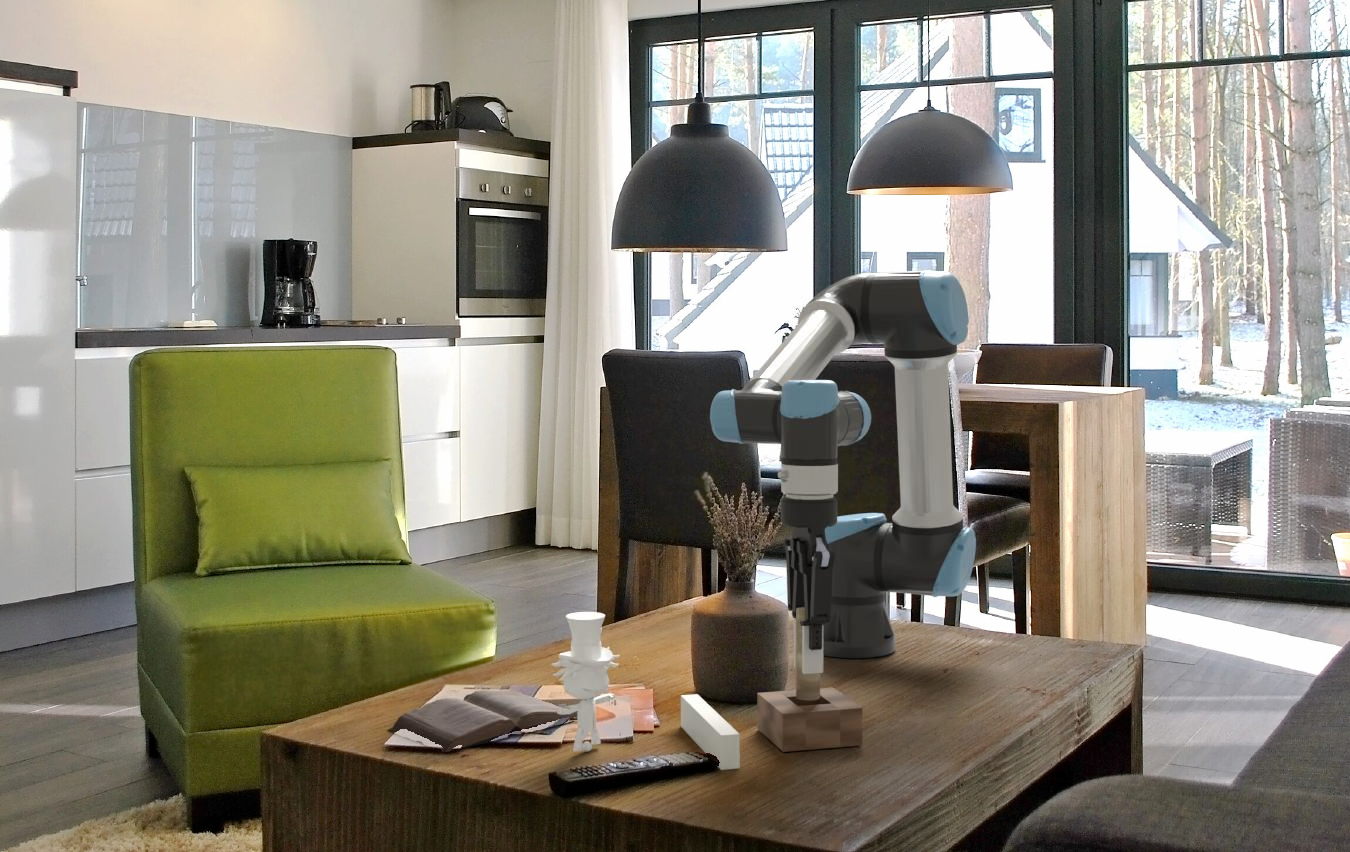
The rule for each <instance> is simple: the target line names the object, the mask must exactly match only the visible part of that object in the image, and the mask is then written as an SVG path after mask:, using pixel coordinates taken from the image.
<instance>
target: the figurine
mask: <svg viewBox="0 0 1350 852" xmlns="http://www.w3.org/2000/svg"><path fill="white" fill-rule="evenodd" d="M565 618H566V621H567V622H568V625H569V628H570V629H569V630H570V633H571V642H570V650H568V651H565V652H562V653H559V654H558V658H559V659H558V661H557V662H553V663H550V664H551V666H553V667H555V668H557V667H563V668H560V669H559V670H557V672H556V673H553V674H552V676H553V677H558V676H561V675H562V676H561V677H560V678H559V679H558V681H559V682H563V685H562V686H563V690H564V691H565V693H566V694H567V695H569V696H571V697H573V698H574V699H578V700H580V702H579V703H577V704H576V703H575V704H571V705H569V706H564V707H563V708H561V709H558V710H557V711H556V712H557V713H558V714H560V715H565V714H571V713H573V712H576V711H578V712H577V720H578V721H577V727H578V728H577V731H576V734H575V739H574V743H573V748H572V751H573V752H580V751H584V752H586V753H588V752H590V751H591V750H592V748H593V746H596V745H600V744H601V743H602V741H601V738H600V735H599V731H598V728H597V715H596V713H597V710H596V709H597V708H596V705H598V704H604V703H606V702H607V703H608V702H611V701H613V700H614V699H615V698H616V694H614V693H606V692H608V690H609V685H610V678H609V675H608V669H609V668H617V667H618V666H619V665H620V663H614V662H613V660H617V659H618V658H620V656H621V655H620V654H617V655H615V654H613V652H612V651H611V650H610V646H607V648H606V647H604V646H602V641H601V636H602V633H603V632H602V631H603V629H604V628H603V627H602V625H603V624H604V623H603V622H604V621H605V618H606V614H604V613H602V612H595V611H580V612H579V611H577V612H572V613H571V612H570V613H568V614H566V615H565ZM590 732H591V733H590ZM589 733H590V740H591V741H585V740H586V738H587V737H588V735H589Z"/></svg>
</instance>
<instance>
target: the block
mask: <svg viewBox="0 0 1350 852" xmlns="http://www.w3.org/2000/svg"><path fill="white" fill-rule="evenodd" d="M756 696H757V697H756V698H757V700H756V702H757V704H756V707H757V708H756V710H757V712H756V714H757V715H756V716H757V717H756V719H757V720H756V723H757V724H756V725H757V730H758V731H759V732H761V734H762V735H764V736H765V737H766V738H767V739H768V740H770V742H771V743H772V744H774V745H775V746H776V747H777V748H778V749H779V750H781V752H783V753H785V752H797V751H809V750H820V749H832V748H833V749H834V748H844V747H857V746H863V707H862V706H860V705H859V704H857V703H856V702H854V701H853V700H851V699H850V698H849V697H847V696H846V695H845V694H843V693H841V692H840V691H839V690H837V689H835V688H834V687H833V686H832V687H820V699H818V700H800V699H797V698H796V689H793V690H778V691H768V692H765V691H764V692H757V693H756Z"/></svg>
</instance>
